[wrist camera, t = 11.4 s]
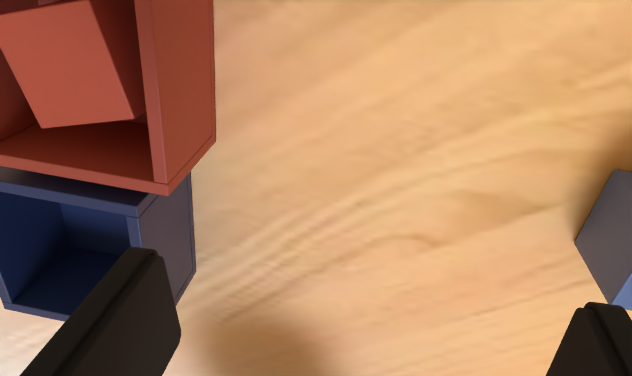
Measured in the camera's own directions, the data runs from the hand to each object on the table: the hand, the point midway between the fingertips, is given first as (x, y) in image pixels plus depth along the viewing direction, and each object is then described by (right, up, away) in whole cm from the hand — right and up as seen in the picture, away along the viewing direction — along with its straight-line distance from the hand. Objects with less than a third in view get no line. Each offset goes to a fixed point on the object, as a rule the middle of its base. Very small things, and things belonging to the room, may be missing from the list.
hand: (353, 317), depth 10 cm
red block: (-10, +10, +10) cm, 17 cm away
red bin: (-10, +10, +10) cm, 17 cm away
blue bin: (-12, +2, +15) cm, 20 cm away
